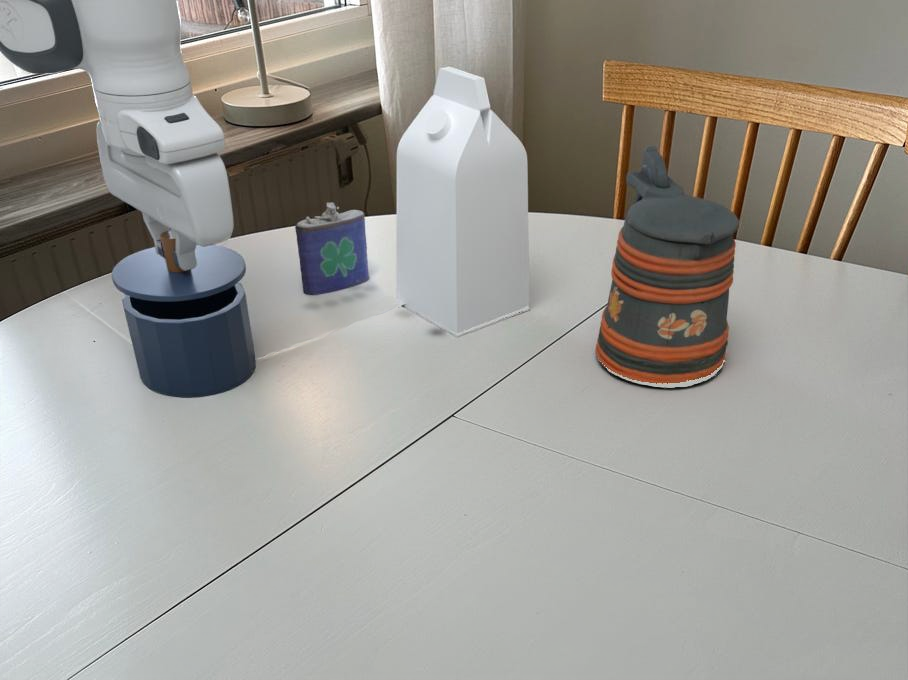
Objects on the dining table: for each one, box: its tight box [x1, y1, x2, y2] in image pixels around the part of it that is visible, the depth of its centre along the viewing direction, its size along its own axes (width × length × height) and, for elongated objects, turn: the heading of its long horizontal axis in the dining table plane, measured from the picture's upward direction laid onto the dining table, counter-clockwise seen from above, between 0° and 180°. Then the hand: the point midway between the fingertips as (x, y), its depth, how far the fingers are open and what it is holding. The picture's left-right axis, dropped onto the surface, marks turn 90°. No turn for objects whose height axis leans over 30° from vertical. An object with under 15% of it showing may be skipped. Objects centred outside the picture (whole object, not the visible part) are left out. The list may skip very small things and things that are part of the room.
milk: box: [395, 66, 530, 338], centre depth 117 cm, size 12×12×26 cm
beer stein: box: [595, 145, 740, 390], centre depth 111 cm, size 19×15×20 cm
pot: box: [121, 281, 257, 398], centre depth 110 cm, size 13×13×8 cm
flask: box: [294, 201, 370, 296], centre depth 125 cm, size 9×3×11 cm, turn 124°
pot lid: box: [111, 229, 247, 302], centre depth 105 cm, size 14×14×5 cm
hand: (177, 261), depth 105 cm, fingers closed on pot lid, 2 cm apart
